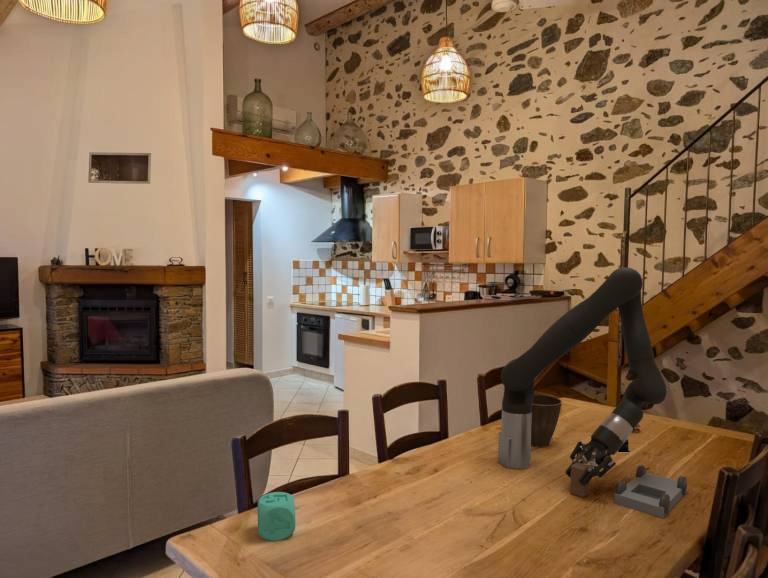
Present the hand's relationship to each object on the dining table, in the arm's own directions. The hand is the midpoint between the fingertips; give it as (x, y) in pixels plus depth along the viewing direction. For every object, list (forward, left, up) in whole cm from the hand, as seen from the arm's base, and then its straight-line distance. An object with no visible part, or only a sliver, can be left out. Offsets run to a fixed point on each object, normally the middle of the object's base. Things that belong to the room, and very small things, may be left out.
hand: (574, 479), depth 146 cm
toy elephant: (+57, +44, -4) cm, 72 cm away
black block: (+39, +27, -5) cm, 48 cm away
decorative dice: (-81, 0, -4) cm, 81 cm away
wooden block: (+2, 0, -4) cm, 5 cm away
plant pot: (+14, +39, -4) cm, 42 cm away
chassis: (+20, -7, -4) cm, 21 cm away
